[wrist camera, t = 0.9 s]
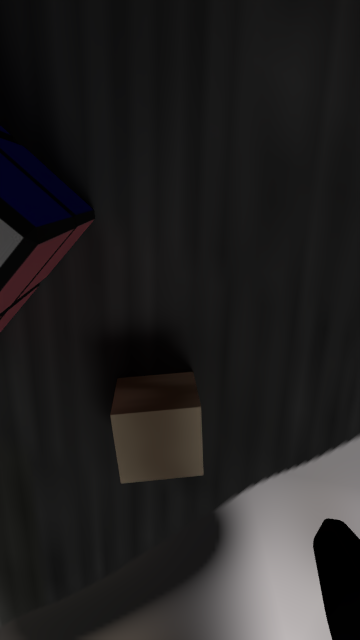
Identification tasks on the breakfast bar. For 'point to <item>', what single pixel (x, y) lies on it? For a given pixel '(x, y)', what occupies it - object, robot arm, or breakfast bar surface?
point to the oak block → (157, 427)
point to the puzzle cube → (32, 224)
